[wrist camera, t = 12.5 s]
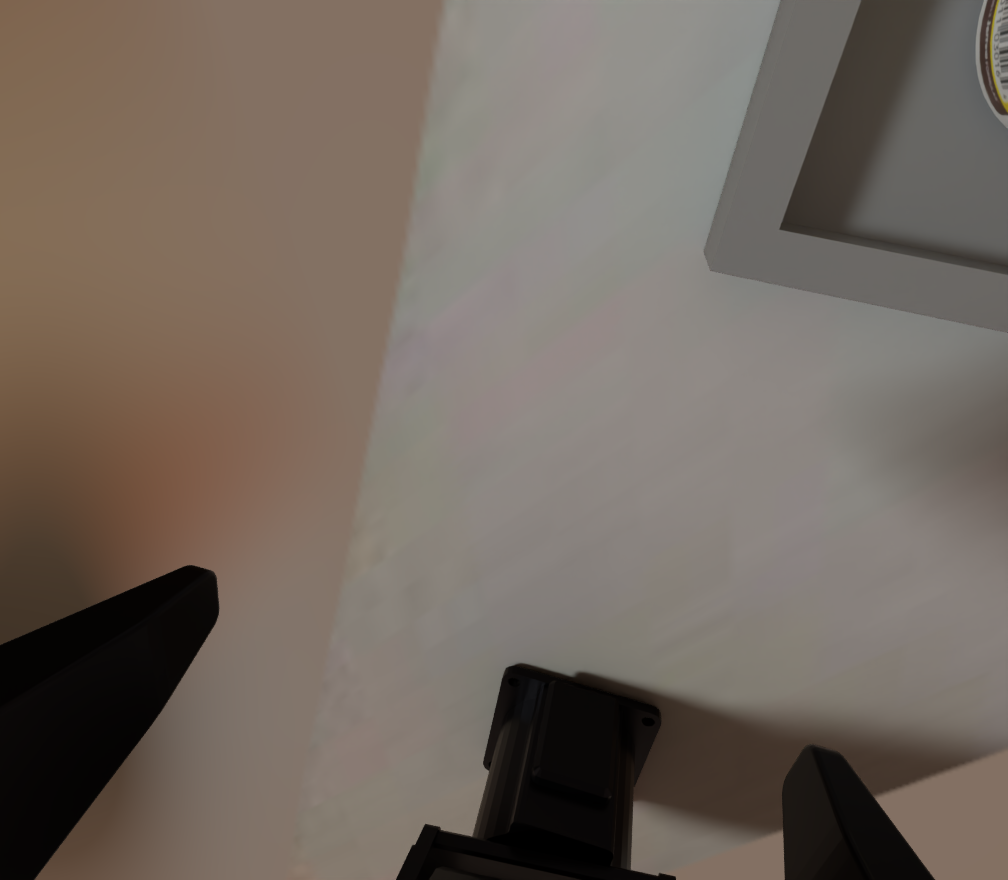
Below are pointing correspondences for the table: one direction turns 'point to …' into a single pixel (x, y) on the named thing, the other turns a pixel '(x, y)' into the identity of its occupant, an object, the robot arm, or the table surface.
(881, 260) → the tray
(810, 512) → the table surface
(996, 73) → the supplement bottle
